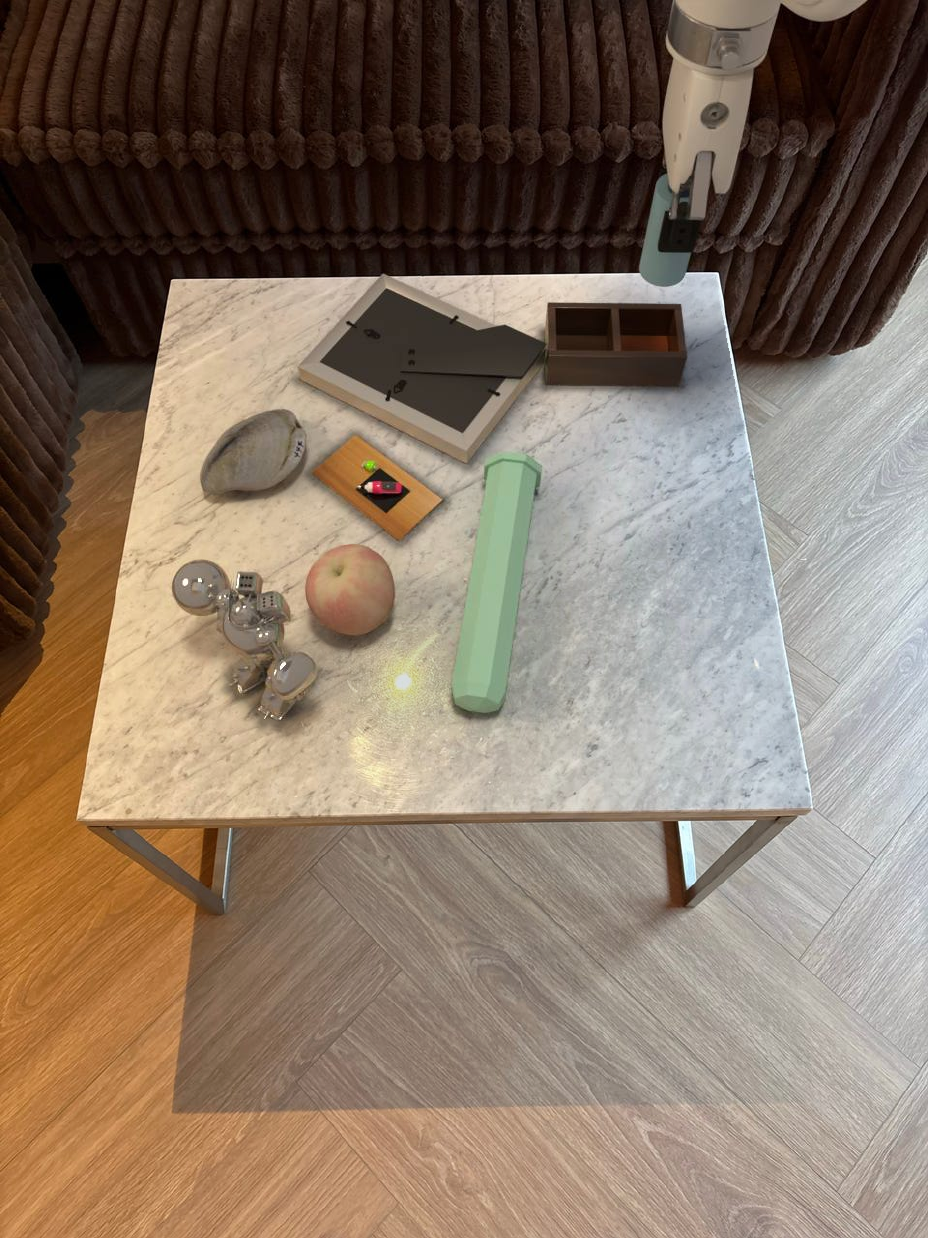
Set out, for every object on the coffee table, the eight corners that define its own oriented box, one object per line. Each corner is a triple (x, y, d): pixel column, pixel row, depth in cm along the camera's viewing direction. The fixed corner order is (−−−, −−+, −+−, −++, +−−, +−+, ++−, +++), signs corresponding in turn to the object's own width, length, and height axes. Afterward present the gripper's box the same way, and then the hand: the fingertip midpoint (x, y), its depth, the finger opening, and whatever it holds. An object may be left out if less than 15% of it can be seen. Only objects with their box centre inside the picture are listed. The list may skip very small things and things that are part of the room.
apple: (363, 560, 90) (354, 513, 83) (415, 613, 87) (411, 569, 80) (297, 610, 87) (281, 566, 80) (349, 666, 85) (338, 626, 78)
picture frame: (544, 362, 101) (384, 287, 106) (546, 343, 98) (382, 267, 104) (466, 464, 95) (300, 379, 100) (466, 446, 92) (296, 361, 97)
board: (356, 435, 97) (354, 426, 95) (442, 500, 93) (442, 491, 92) (311, 473, 94) (309, 464, 93) (398, 541, 91) (397, 532, 89)
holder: (544, 332, 103) (547, 301, 99) (673, 333, 103) (681, 303, 99) (545, 385, 100) (548, 355, 96) (678, 386, 99) (687, 357, 95)
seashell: (238, 529, 92) (226, 499, 87) (186, 479, 94) (172, 448, 90) (330, 457, 95) (323, 426, 91) (277, 412, 98) (268, 379, 94)
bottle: (683, 253, 90) (707, 160, 81) (687, 287, 88) (712, 195, 79) (637, 253, 90) (656, 160, 81) (640, 286, 88) (659, 195, 79)
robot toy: (183, 641, 86) (130, 556, 73) (235, 597, 88) (193, 507, 75) (291, 747, 81) (256, 677, 68) (343, 699, 83) (319, 621, 70)
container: (495, 695, 77) (532, 447, 88) (430, 696, 79) (473, 454, 90) (519, 722, 82) (551, 483, 92) (457, 722, 84) (496, 489, 95)
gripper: (788, 98, 65) (724, 299, 81) (758, -42, 73) (705, 167, 89) (679, 97, 65) (636, 298, 81) (660, -43, 73) (625, 166, 89)
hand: (673, 227), depth 85 cm, fingers closed on bottle, 4 cm apart
